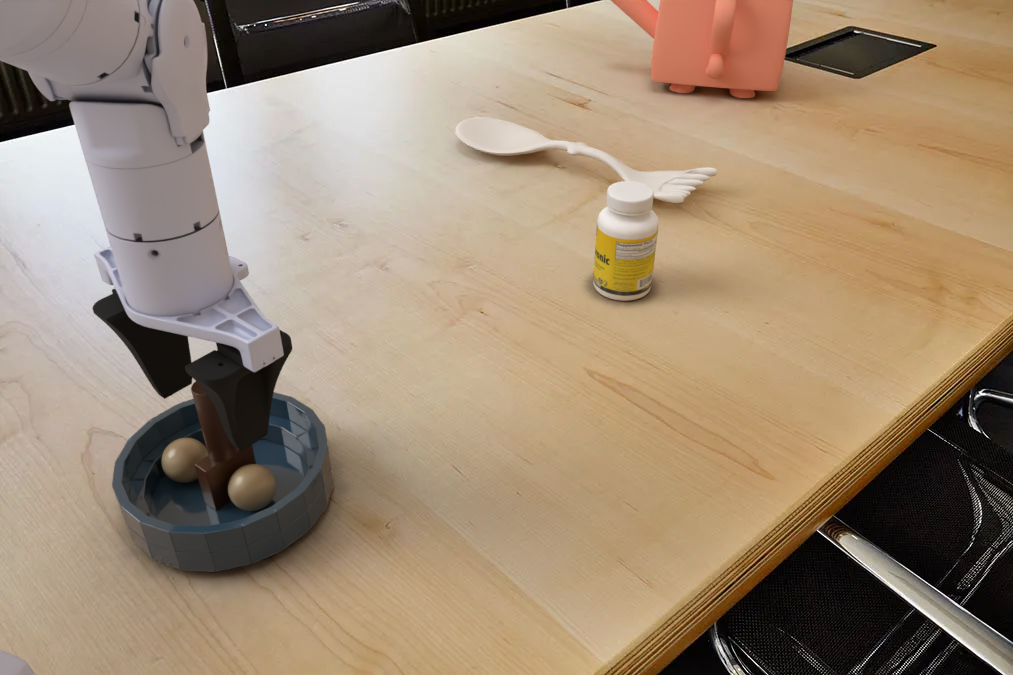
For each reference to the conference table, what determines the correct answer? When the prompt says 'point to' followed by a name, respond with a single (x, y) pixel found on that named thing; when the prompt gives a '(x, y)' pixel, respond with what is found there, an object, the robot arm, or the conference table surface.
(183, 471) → the bead far
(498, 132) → the spoon
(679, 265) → the conference table surface
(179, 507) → the bowl
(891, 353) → the conference table surface
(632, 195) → the supplement bottle
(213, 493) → the stir paddle
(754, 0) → the teapot
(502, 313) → the conference table surface
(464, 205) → the conference table surface
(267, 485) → the bead near
